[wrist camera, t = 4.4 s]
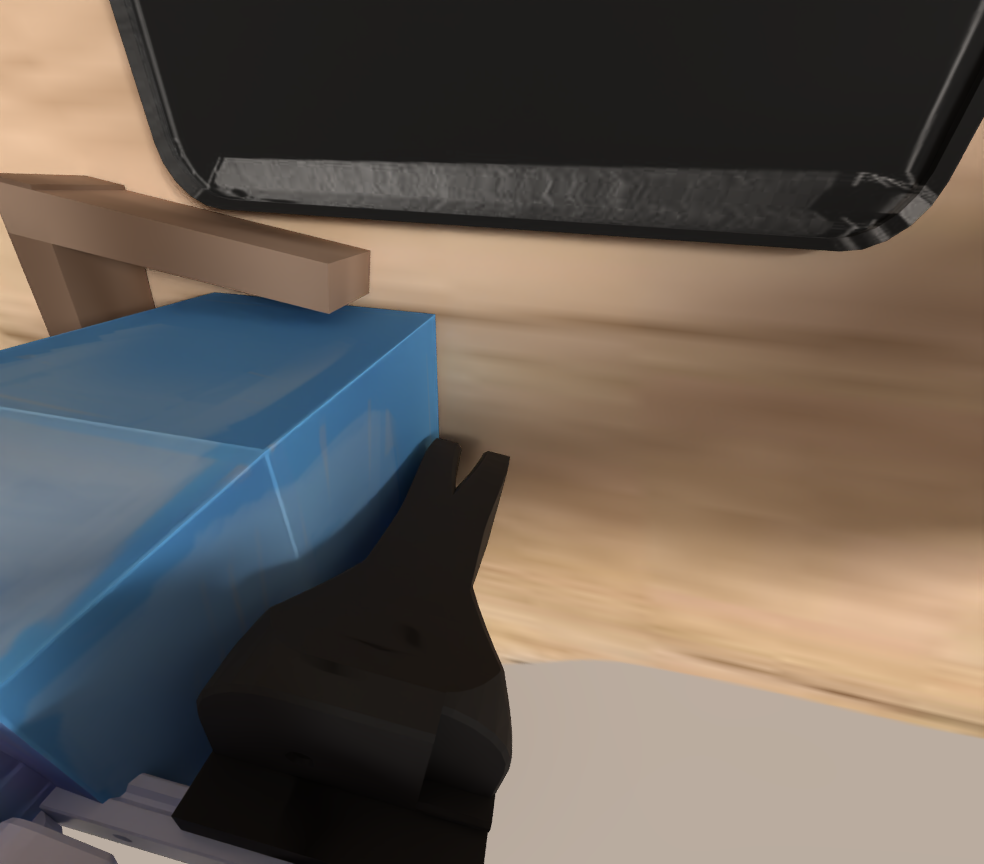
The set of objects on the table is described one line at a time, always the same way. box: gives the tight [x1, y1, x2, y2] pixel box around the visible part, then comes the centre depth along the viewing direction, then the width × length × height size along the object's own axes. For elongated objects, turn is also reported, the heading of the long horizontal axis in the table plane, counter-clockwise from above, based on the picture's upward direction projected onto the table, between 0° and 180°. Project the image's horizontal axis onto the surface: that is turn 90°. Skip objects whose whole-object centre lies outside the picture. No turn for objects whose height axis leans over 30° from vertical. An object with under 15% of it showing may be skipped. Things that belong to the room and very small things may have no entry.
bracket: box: [0, 173, 370, 337], centre depth 11 cm, size 7×10×2 cm
